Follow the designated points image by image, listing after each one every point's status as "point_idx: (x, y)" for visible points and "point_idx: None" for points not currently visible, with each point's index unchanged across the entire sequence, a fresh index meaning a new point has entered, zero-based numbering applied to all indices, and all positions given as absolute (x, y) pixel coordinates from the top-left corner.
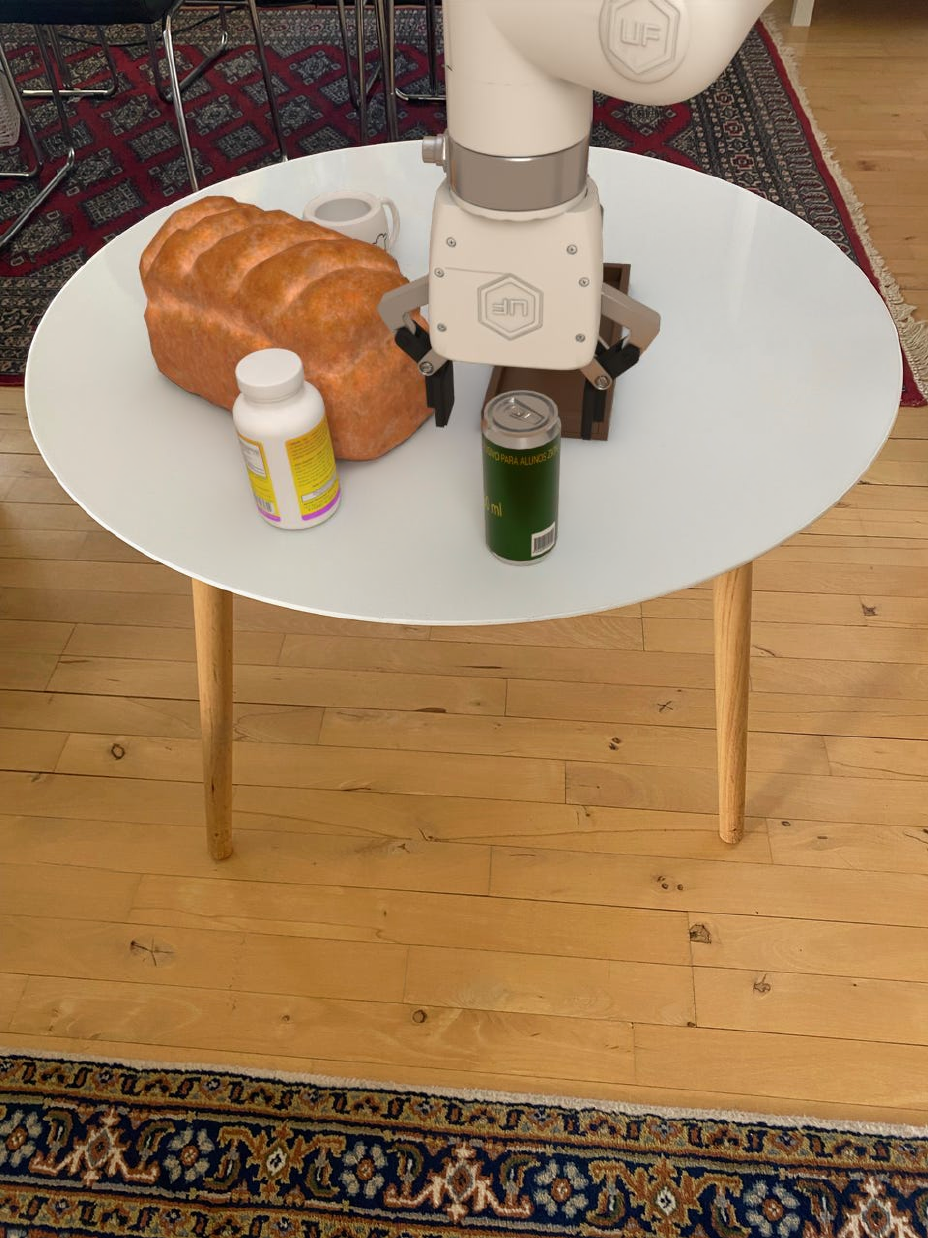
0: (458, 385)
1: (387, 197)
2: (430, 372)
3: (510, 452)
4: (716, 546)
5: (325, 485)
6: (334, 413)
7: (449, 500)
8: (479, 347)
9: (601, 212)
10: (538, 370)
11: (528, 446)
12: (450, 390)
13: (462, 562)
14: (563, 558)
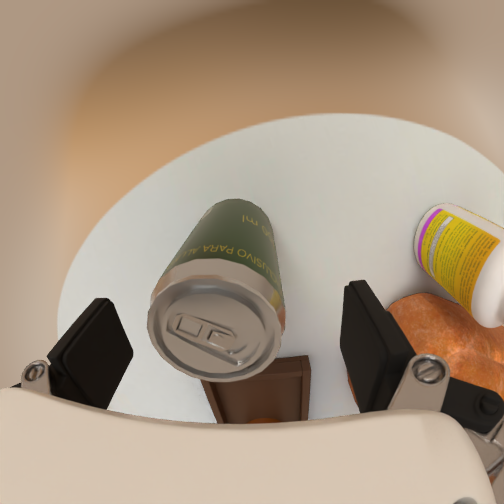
0: (333, 388)
1: None
2: (415, 363)
3: (212, 254)
4: (87, 267)
5: (437, 238)
6: (442, 320)
7: (320, 273)
8: (272, 497)
9: None
10: (275, 410)
11: (178, 267)
12: (352, 352)
13: (287, 193)
14: (190, 222)
